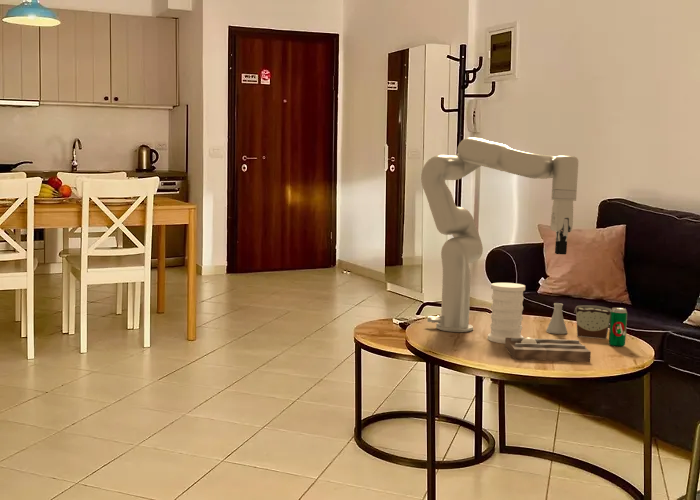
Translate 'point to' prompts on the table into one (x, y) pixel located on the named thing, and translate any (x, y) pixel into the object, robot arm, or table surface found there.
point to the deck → (548, 350)
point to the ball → (529, 340)
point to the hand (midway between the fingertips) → (560, 253)
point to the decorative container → (506, 311)
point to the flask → (557, 321)
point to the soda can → (617, 327)
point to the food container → (592, 321)
